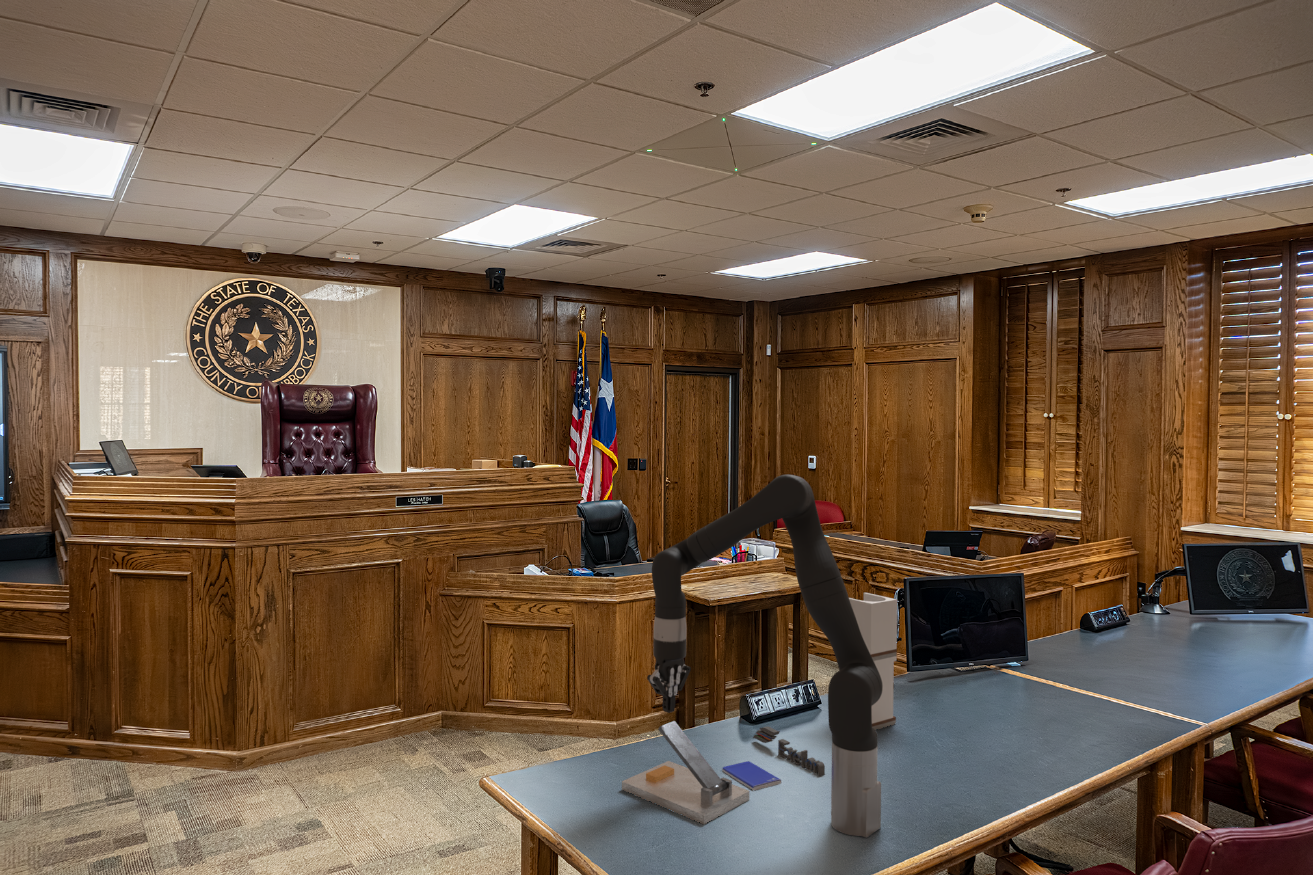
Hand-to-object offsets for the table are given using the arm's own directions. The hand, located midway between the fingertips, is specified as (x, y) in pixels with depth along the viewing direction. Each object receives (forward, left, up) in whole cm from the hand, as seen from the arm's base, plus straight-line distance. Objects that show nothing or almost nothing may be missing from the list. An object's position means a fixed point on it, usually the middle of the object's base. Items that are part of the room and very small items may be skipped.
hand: (668, 711), depth 190 cm
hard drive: (-10, -18, -18) cm, 28 cm away
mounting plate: (-5, 0, -18) cm, 18 cm away
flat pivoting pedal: (-7, 0, -9) cm, 11 cm away
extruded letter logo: (-10, -34, -18) cm, 40 cm away
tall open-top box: (-12, -71, -18) cm, 74 cm away
